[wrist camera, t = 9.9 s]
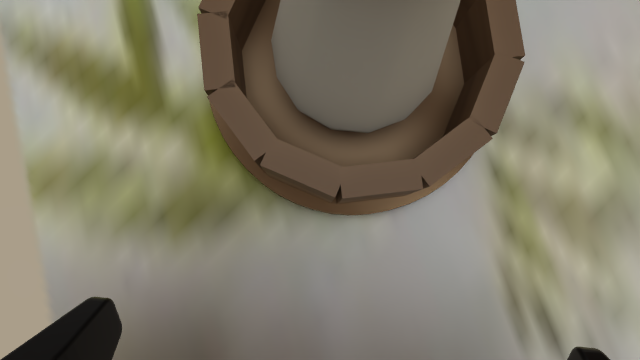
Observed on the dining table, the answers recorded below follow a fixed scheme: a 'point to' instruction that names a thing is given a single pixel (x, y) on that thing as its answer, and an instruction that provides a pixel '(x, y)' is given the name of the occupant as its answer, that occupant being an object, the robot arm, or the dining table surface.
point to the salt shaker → (360, 57)
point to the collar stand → (353, 147)
